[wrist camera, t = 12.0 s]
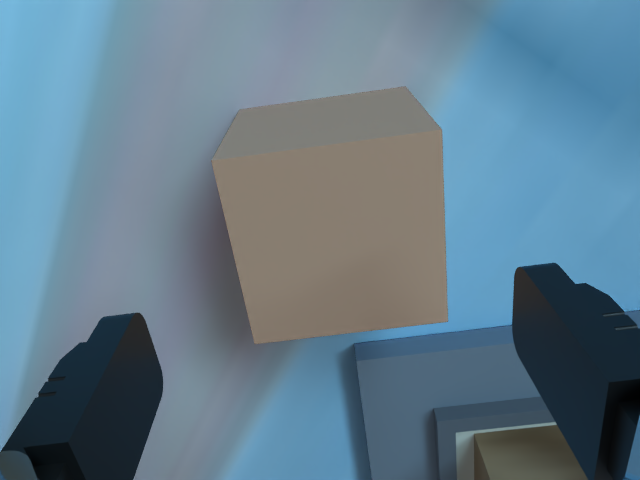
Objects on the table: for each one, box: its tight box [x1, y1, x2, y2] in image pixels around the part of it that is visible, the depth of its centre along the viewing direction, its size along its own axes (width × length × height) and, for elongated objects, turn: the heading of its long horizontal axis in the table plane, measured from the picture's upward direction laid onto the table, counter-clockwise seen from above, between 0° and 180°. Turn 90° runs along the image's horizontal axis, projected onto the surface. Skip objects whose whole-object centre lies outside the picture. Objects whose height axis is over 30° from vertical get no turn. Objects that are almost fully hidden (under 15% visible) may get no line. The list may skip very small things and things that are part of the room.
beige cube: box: [211, 86, 448, 344], centre depth 18 cm, size 6×6×6 cm
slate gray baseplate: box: [354, 311, 640, 480], centre depth 26 cm, size 16×16×2 cm
